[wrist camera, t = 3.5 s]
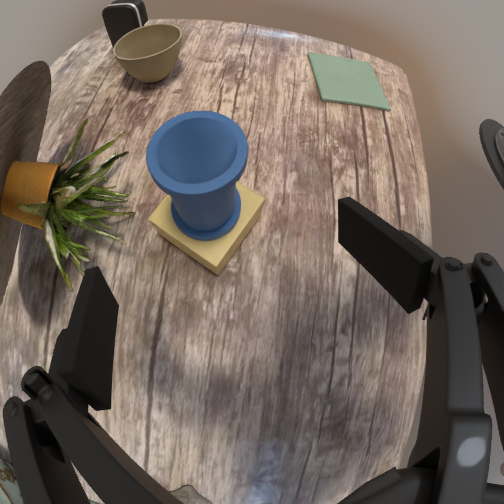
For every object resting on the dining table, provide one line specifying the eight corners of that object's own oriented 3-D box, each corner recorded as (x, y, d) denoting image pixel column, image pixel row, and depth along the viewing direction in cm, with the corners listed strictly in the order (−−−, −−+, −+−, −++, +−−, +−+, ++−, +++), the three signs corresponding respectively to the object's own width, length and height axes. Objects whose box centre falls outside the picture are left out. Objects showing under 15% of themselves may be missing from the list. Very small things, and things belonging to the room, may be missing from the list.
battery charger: (156, 45, 38) (147, -5, 27) (144, 57, 37) (132, 5, 26) (125, 43, 38) (112, -3, 27) (113, 55, 37) (98, 8, 26)
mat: (368, 65, 41) (369, 62, 40) (389, 111, 38) (391, 109, 38) (307, 54, 40) (307, 52, 39) (321, 101, 37) (322, 98, 36)
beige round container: (199, 66, 37) (196, 31, 30) (150, 102, 35) (140, 67, 28) (158, 49, 38) (152, 18, 31) (112, 81, 36) (100, 50, 29)
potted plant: (87, 343, 33) (179, 362, 17) (-26, 312, 22) (-89, 295, 5) (118, 184, 42) (215, 91, 26) (26, 146, 30) (73, 12, 14)
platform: (202, 180, 32) (198, 157, 28) (260, 216, 32) (265, 198, 27) (159, 234, 31) (147, 219, 26) (218, 275, 30) (216, 267, 25)
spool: (239, 176, 27) (245, 109, 18) (242, 239, 26) (251, 192, 16) (173, 179, 27) (152, 114, 17) (171, 242, 25) (141, 197, 16)
